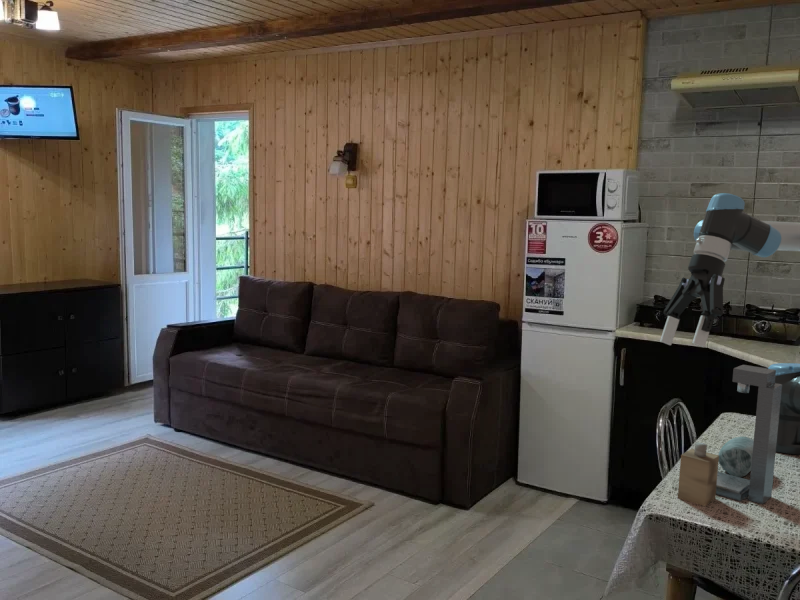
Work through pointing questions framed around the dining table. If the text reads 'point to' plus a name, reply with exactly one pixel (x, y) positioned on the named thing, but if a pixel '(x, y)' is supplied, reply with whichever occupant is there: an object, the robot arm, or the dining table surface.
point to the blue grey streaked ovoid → (737, 456)
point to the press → (757, 437)
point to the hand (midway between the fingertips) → (681, 344)
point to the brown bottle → (698, 475)
